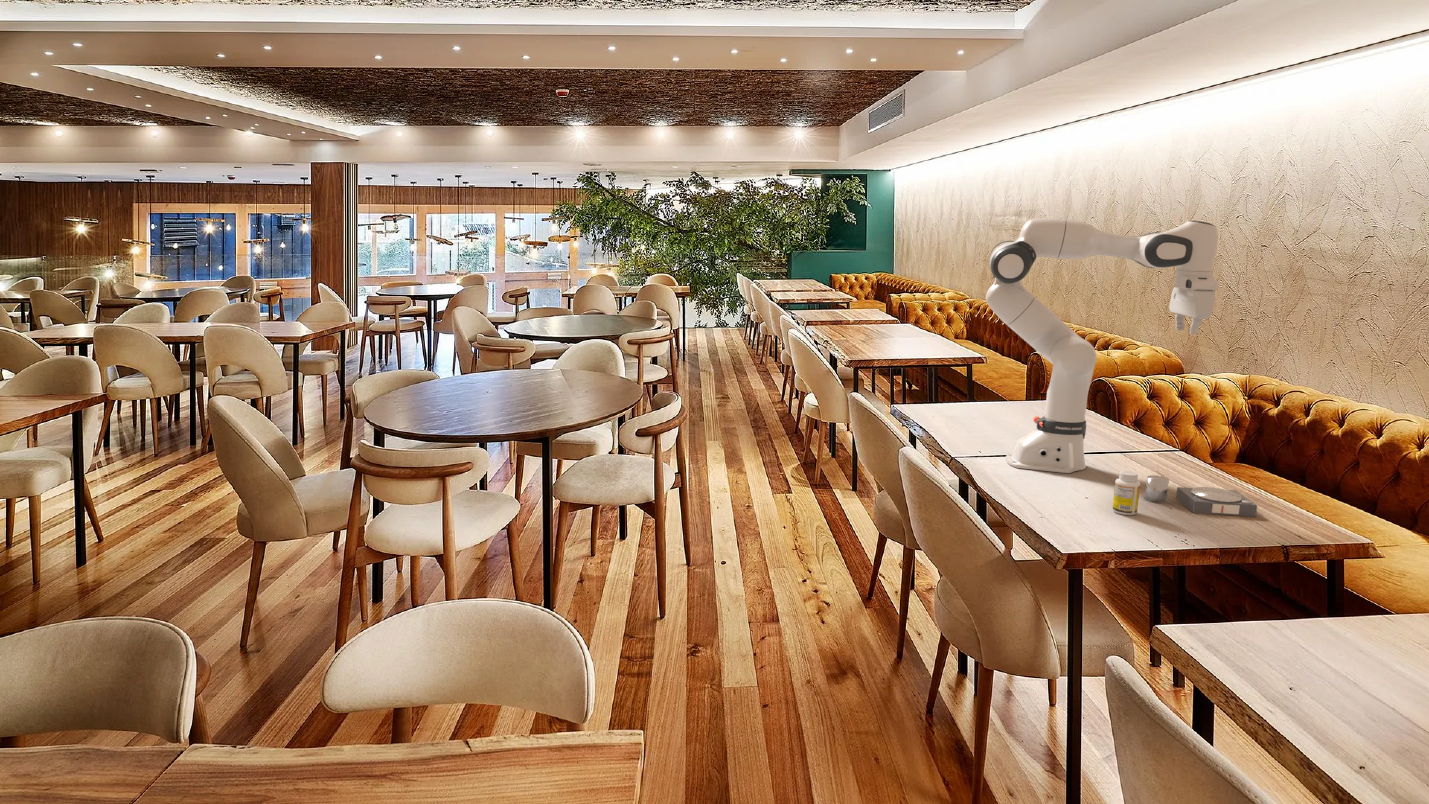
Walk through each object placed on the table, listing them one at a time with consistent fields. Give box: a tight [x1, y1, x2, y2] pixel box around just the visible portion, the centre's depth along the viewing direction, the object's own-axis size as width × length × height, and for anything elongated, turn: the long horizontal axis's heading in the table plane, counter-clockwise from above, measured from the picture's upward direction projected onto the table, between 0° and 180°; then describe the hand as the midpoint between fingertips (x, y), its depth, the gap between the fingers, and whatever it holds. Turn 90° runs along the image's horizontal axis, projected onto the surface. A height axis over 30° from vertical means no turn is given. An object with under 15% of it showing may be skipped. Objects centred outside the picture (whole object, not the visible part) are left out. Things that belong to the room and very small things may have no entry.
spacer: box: [1144, 474, 1170, 504], centre depth 211 cm, size 5×5×6 cm
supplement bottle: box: [1112, 470, 1141, 516], centre depth 201 cm, size 6×6×10 cm
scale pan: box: [1191, 486, 1242, 503], centre depth 206 cm, size 11×11×1 cm
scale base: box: [1175, 486, 1258, 518], centre depth 206 cm, size 14×12×3 cm
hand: (1186, 332), depth 224 cm, fingers open, 8 cm apart
